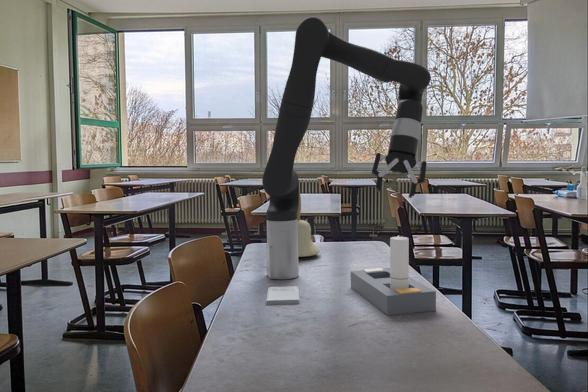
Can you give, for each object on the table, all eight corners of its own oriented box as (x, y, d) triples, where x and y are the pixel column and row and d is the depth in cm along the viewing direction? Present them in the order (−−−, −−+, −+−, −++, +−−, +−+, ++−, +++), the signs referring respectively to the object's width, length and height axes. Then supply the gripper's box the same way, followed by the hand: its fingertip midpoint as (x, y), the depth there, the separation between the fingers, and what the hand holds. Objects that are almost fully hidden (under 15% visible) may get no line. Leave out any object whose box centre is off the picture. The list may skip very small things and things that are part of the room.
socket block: (435, 310, 110) (435, 289, 110) (387, 315, 108) (387, 294, 107) (391, 283, 134) (391, 266, 133) (350, 287, 131) (350, 270, 131)
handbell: (269, 258, 171) (266, 188, 168) (291, 250, 183) (290, 185, 181) (306, 262, 163) (304, 188, 160) (327, 254, 175) (326, 185, 173)
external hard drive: (266, 306, 118) (268, 292, 131) (299, 306, 118) (298, 291, 131) (266, 300, 118) (268, 286, 130) (299, 299, 118) (298, 285, 131)
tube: (408, 303, 113) (408, 239, 112) (390, 302, 114) (390, 239, 113) (408, 297, 117) (408, 236, 116) (390, 296, 118) (390, 236, 117)
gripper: (380, 129, 130) (369, 187, 128) (433, 138, 129) (423, 197, 127) (378, 137, 138) (367, 191, 136) (428, 145, 136) (418, 201, 134)
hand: (394, 194), depth 131 cm, fingers open, 8 cm apart
